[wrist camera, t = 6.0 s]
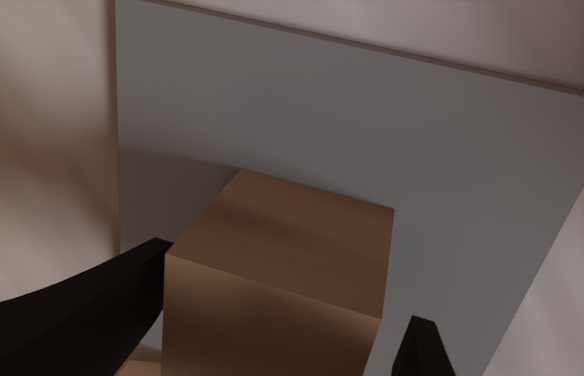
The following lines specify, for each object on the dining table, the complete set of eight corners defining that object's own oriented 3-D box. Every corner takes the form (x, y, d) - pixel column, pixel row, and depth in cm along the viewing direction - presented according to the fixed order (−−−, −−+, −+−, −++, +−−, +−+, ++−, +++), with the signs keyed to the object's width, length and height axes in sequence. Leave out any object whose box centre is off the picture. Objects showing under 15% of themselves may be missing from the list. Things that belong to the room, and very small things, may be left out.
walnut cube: (357, 326, 16) (333, 459, 12) (227, 286, 17) (160, 396, 13) (394, 208, 14) (381, 319, 10) (241, 167, 15) (165, 253, 10)
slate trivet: (443, 429, 18) (444, 446, 18) (132, 324, 21) (122, 336, 20) (614, 97, 12) (626, 106, 11) (130, -8, 14) (114, -6, 13)
